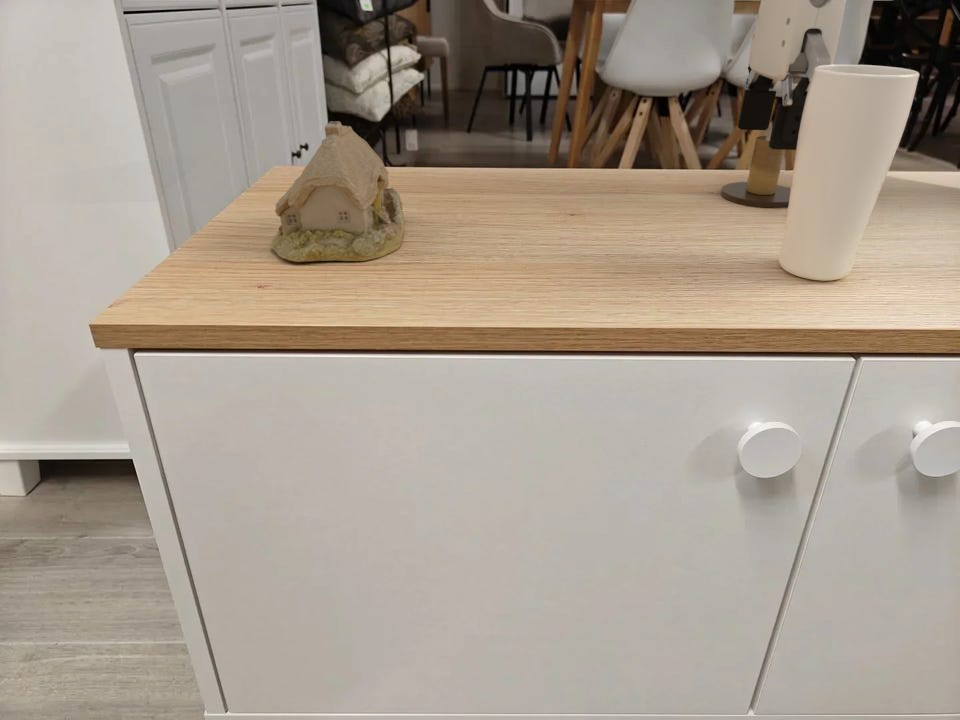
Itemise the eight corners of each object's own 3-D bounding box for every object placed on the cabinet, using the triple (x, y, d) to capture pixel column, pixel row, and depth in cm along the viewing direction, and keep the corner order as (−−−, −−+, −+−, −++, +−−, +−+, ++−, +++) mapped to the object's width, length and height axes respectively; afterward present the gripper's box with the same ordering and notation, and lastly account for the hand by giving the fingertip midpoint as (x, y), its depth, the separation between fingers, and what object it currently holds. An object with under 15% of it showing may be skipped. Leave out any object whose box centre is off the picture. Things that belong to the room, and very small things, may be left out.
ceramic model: (389, 268, 54) (380, 141, 49) (255, 263, 55) (233, 137, 50) (419, 215, 67) (415, 109, 62) (309, 211, 67) (296, 106, 63)
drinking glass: (804, 291, 51) (861, 76, 43) (750, 259, 56) (792, 65, 49) (879, 282, 52) (946, 73, 45) (818, 252, 58) (869, 63, 50)
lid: (742, 183, 78) (753, 128, 75) (812, 197, 73) (826, 139, 70) (706, 196, 73) (716, 138, 70) (778, 212, 68) (792, 150, 65)
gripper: (902, -60, 54) (841, 159, 62) (813, -51, 69) (774, 124, 77) (807, -62, 54) (759, 157, 62) (740, -53, 69) (708, 122, 77)
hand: (767, 138), depth 70 cm, fingers open, 9 cm apart
